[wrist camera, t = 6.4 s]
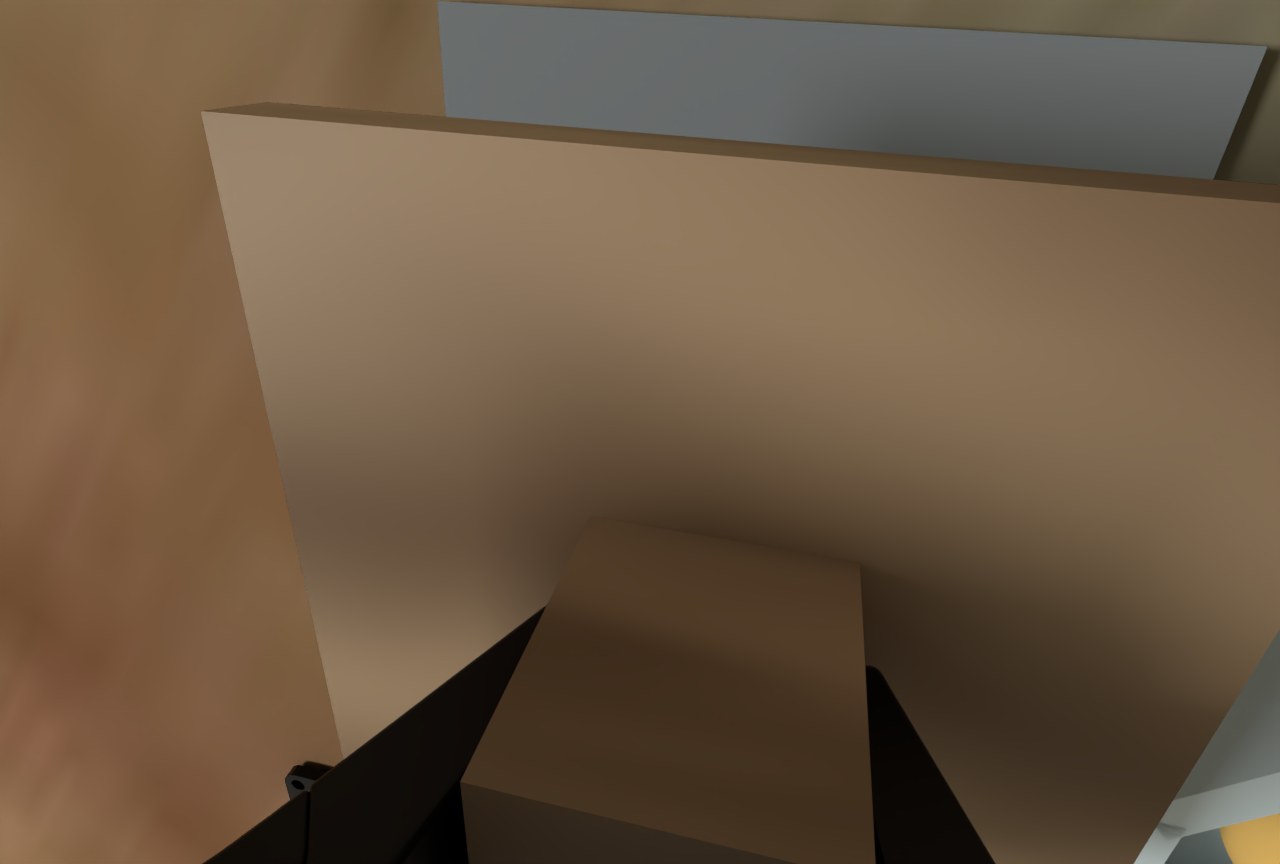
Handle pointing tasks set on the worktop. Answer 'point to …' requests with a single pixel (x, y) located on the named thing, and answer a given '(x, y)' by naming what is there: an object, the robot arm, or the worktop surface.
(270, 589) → the worktop surface
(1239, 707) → the bowl
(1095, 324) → the lid
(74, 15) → the worktop surface
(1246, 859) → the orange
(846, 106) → the mat
